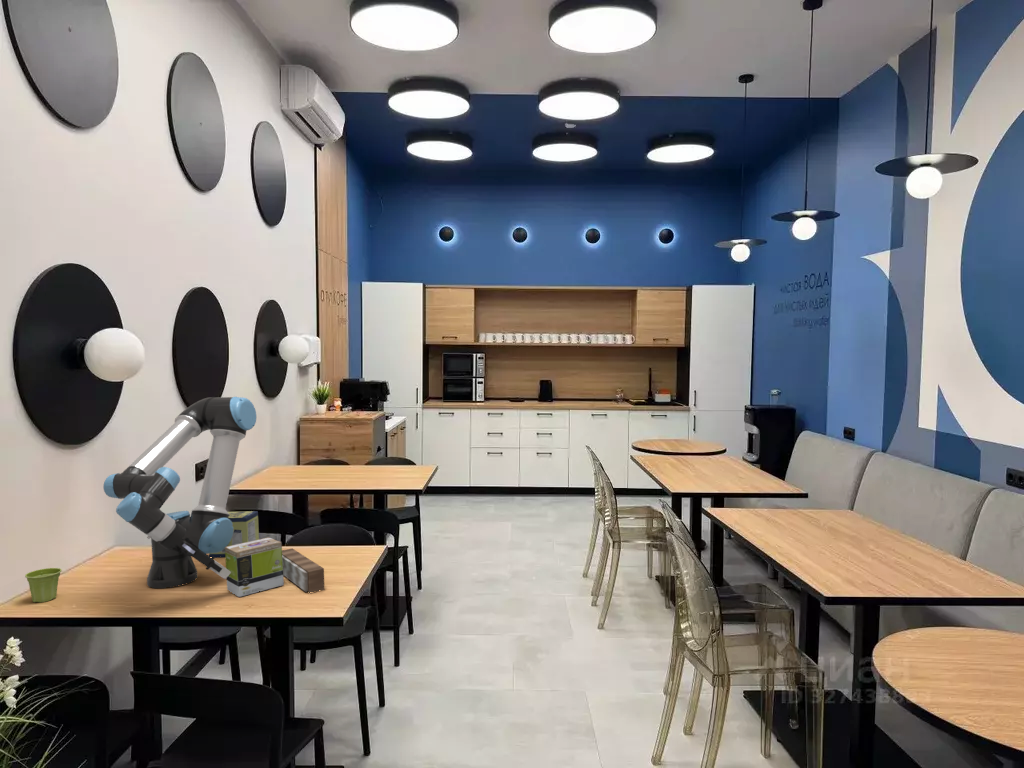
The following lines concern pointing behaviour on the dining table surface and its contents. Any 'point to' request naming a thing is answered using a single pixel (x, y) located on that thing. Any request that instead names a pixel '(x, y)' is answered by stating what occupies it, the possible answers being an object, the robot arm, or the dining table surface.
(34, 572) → the plant pot
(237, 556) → the tea box
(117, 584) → the dining table surface
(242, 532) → the protein box
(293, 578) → the bar
